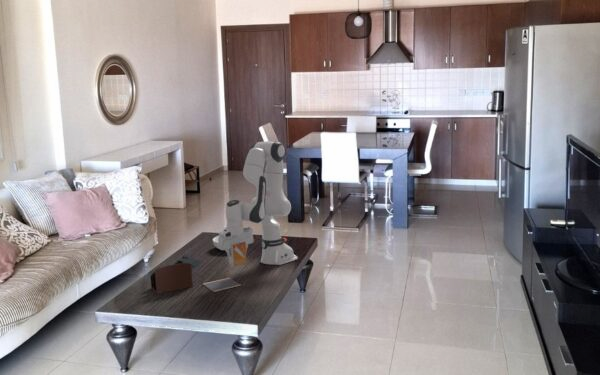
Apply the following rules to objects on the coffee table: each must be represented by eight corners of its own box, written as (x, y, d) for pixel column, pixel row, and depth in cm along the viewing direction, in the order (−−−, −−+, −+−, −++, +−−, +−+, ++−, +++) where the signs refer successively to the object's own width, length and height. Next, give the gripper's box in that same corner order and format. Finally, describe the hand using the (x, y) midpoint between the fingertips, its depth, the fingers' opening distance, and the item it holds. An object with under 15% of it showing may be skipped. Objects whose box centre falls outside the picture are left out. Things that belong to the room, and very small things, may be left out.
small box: (233, 266, 319) (232, 244, 316) (228, 263, 324) (227, 241, 321) (247, 263, 323) (245, 241, 320) (241, 259, 328) (240, 238, 325)
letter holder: (193, 286, 313) (191, 261, 310) (156, 294, 303) (154, 268, 300) (187, 281, 321) (185, 256, 318) (151, 288, 312) (149, 263, 309)
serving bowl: (244, 253, 367) (243, 242, 365) (210, 254, 367) (210, 243, 366) (247, 243, 387) (247, 233, 386) (215, 244, 387) (215, 234, 386)
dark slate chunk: (165, 273, 334) (165, 266, 333) (178, 261, 356) (177, 253, 355) (191, 274, 332) (191, 266, 331) (202, 261, 354) (202, 254, 353)
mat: (229, 278, 323) (229, 277, 323) (241, 285, 311) (241, 285, 311) (202, 284, 315) (202, 283, 315) (213, 292, 303) (213, 291, 303)
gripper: (249, 224, 327) (251, 248, 330) (215, 232, 316) (218, 256, 320) (254, 227, 322) (256, 251, 325) (220, 235, 311) (222, 259, 315)
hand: (237, 254), depth 322 cm, fingers closed on small box, 8 cm apart
